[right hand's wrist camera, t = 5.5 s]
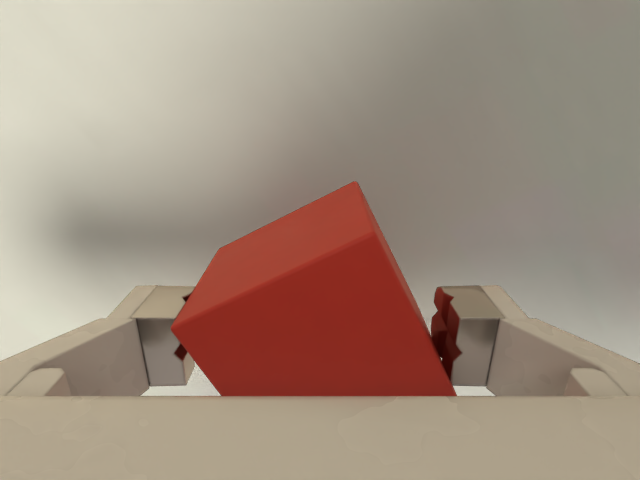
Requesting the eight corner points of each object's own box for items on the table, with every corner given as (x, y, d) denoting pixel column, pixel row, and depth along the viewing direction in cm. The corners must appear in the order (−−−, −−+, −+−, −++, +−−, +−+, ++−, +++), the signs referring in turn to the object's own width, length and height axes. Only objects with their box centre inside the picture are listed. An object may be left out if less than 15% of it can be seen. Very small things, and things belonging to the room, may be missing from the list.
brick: (356, 179, 11) (375, 231, 7) (416, 302, 12) (459, 401, 9) (217, 248, 12) (167, 329, 8) (289, 357, 13) (276, 470, 9)
